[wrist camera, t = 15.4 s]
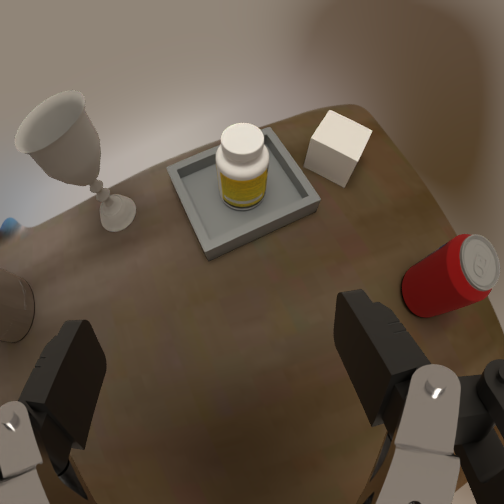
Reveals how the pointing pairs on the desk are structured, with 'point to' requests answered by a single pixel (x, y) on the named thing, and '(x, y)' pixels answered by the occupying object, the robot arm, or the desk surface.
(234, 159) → the supplement bottle
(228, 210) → the tray
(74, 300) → the desk surface
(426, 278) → the beverage can
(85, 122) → the chalice
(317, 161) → the white cube
